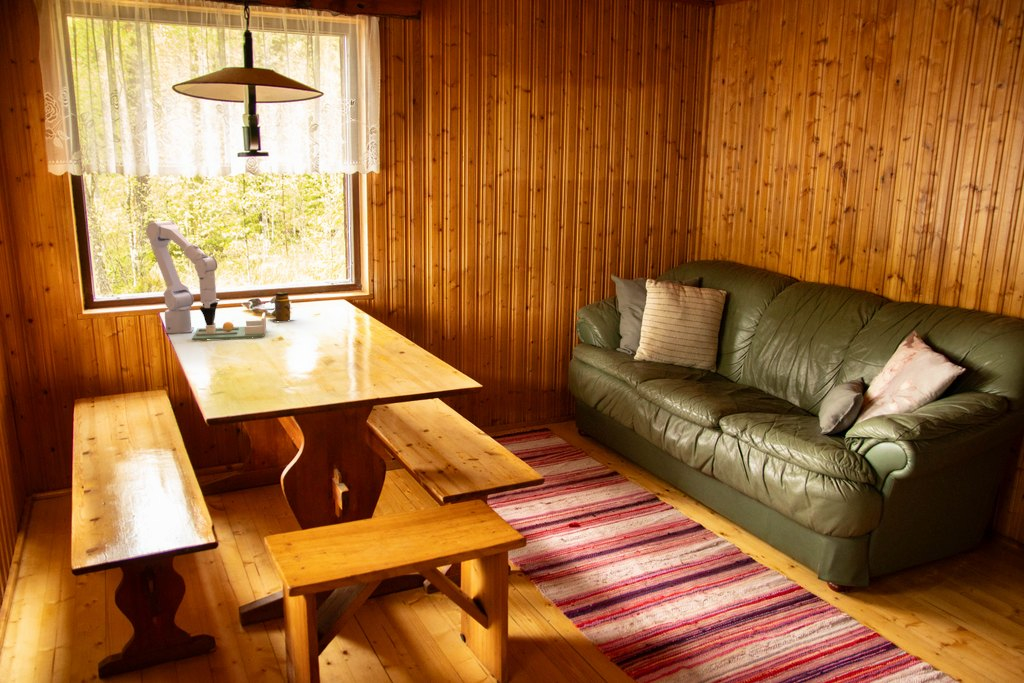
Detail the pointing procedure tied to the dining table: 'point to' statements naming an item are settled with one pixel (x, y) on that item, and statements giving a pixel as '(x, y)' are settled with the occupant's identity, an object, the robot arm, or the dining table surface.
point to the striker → (211, 328)
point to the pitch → (223, 334)
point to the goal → (256, 326)
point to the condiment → (281, 307)
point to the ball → (228, 326)
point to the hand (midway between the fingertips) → (210, 322)
